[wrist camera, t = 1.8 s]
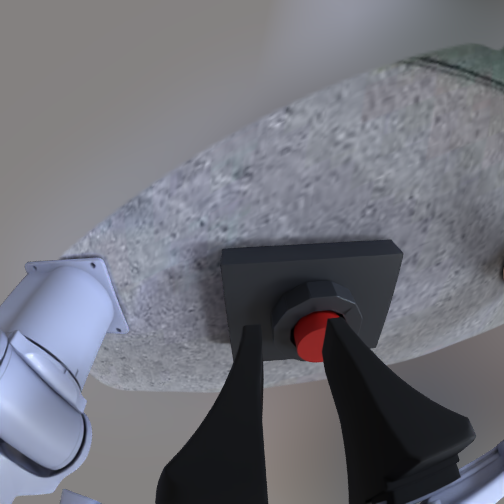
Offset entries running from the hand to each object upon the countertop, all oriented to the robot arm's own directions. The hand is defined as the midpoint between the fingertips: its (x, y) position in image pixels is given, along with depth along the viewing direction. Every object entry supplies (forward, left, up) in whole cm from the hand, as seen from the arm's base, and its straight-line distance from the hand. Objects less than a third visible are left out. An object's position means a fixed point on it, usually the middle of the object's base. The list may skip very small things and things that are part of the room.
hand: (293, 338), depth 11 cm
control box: (+3, -6, -10) cm, 12 cm away
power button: (+3, -6, -6) cm, 9 cm away
